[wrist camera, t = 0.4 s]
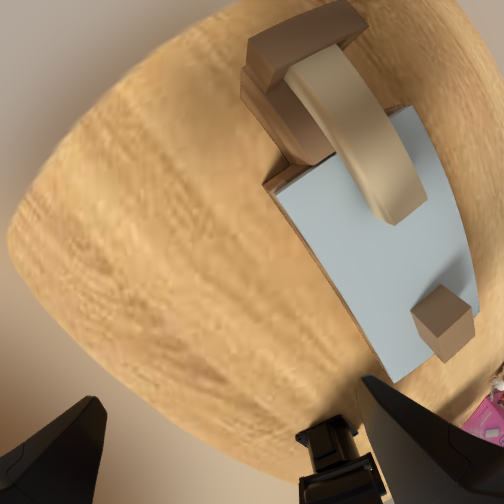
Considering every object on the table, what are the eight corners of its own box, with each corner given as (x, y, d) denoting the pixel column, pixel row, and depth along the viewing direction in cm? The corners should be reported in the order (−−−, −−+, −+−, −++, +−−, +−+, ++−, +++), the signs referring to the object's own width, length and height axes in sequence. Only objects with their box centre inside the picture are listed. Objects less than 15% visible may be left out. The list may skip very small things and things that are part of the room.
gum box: (488, 391, 32) (522, 432, 19) (504, 385, 32) (535, 421, 19) (427, 462, 39) (446, 501, 26) (447, 454, 39) (466, 490, 26)
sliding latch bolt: (405, 193, 13) (428, 198, 11) (373, 216, 13) (394, 226, 11) (313, 49, 11) (326, 32, 9) (275, 69, 11) (282, 53, 9)
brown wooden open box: (444, 284, 23) (508, 334, 13) (368, 345, 24) (413, 418, 14) (322, 51, 16) (380, -15, 6) (210, 117, 17) (183, 73, 8)
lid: (473, 306, 18) (504, 331, 13) (389, 376, 19) (411, 412, 15) (403, 107, 13) (450, 96, 9) (273, 193, 14) (288, 206, 10)
